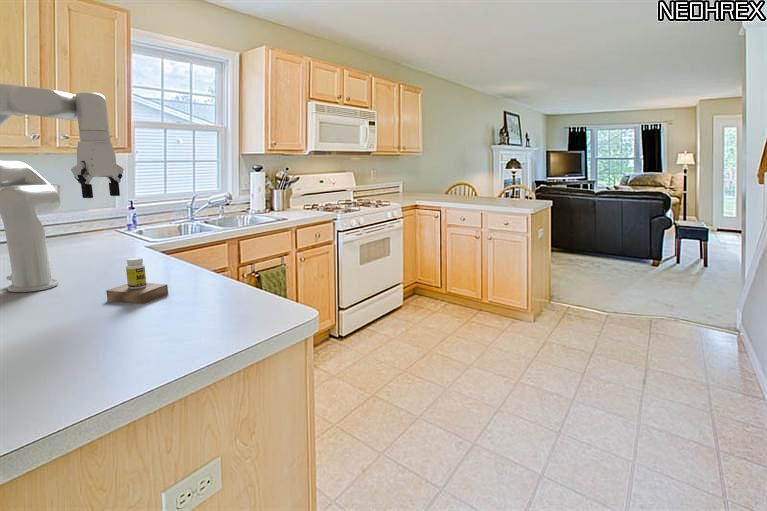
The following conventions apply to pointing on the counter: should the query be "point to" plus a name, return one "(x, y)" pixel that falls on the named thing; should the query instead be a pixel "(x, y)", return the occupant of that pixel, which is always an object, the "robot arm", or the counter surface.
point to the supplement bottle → (136, 273)
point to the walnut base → (137, 293)
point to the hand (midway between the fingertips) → (102, 196)
